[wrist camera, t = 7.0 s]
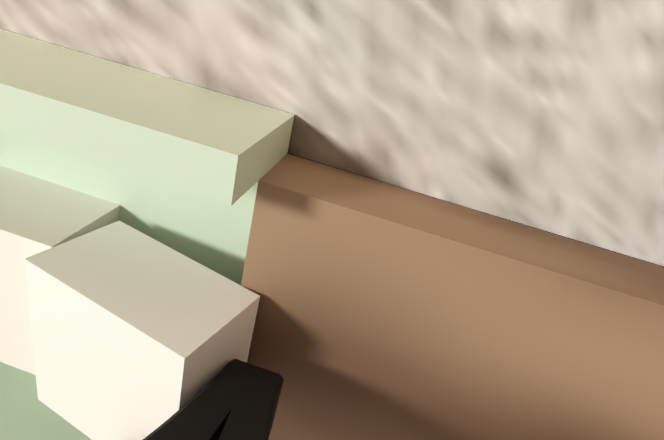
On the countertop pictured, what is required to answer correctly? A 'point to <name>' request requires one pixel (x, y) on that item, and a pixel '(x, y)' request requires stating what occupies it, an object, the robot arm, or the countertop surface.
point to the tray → (131, 168)
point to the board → (444, 319)
